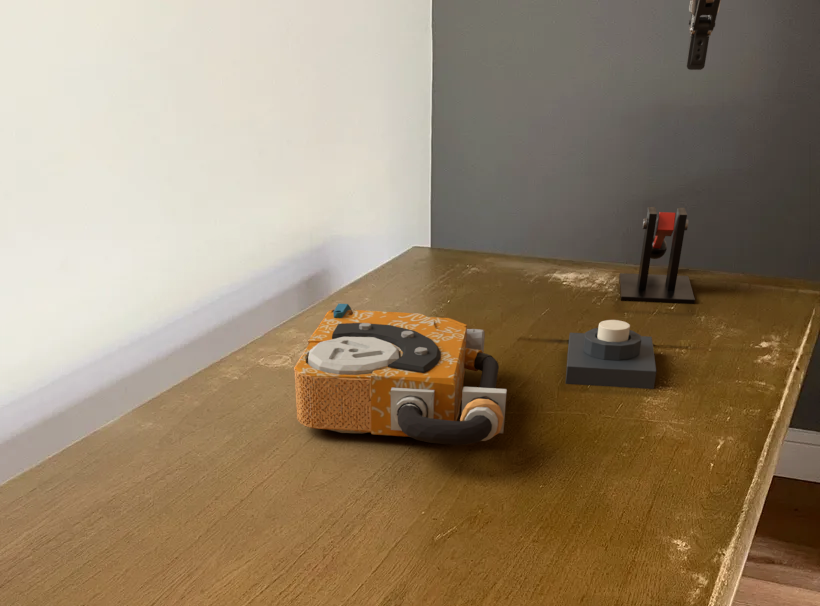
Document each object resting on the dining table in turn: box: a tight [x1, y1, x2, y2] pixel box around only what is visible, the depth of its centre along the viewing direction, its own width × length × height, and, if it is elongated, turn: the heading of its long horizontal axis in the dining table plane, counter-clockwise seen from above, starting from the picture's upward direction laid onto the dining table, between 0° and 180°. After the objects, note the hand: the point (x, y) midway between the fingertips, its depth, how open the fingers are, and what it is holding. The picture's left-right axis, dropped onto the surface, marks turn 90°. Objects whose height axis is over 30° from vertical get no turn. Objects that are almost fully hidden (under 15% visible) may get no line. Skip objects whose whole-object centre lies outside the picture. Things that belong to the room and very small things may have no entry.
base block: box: [565, 327, 657, 390], centre depth 114 cm, size 12×10×4 cm
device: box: [293, 303, 508, 446], centre depth 103 cm, size 23×8×30 cm
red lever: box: [650, 211, 677, 260], centre depth 139 cm, size 14×3×3 cm, turn 169°
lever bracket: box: [618, 206, 696, 305], centre depth 136 cm, size 12×10×12 cm
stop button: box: [597, 319, 631, 342], centre depth 113 cm, size 4×4×2 cm
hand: (694, 68), depth 124 cm, fingers closed
